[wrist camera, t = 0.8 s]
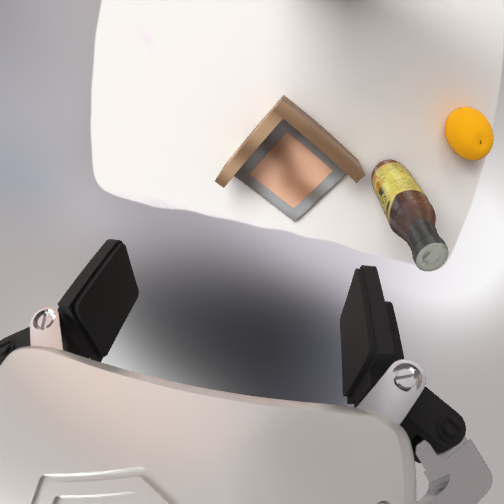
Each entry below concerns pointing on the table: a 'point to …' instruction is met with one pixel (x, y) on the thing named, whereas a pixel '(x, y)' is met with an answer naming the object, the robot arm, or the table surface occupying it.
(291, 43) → the table surface
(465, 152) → the mandarin orange
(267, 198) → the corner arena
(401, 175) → the sauce bottle
